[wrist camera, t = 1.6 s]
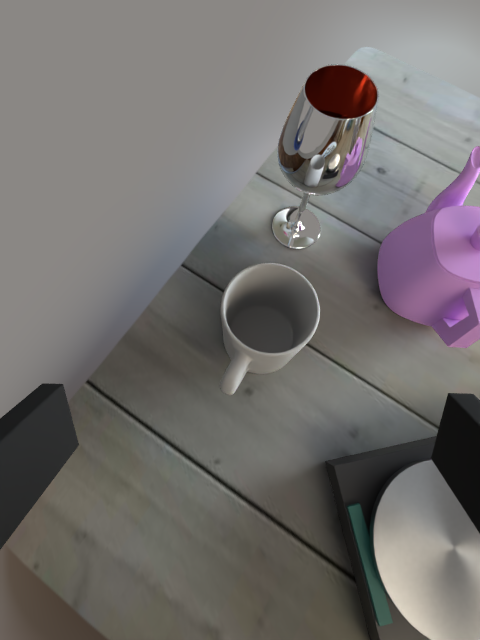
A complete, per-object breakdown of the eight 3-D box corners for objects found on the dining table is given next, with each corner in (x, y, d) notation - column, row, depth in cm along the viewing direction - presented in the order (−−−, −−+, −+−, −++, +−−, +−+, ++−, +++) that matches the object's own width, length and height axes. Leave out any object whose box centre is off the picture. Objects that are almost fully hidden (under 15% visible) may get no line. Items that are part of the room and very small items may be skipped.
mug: (246, 291, 38) (250, 244, 27) (308, 325, 37) (338, 289, 26) (193, 377, 35) (176, 361, 24) (260, 417, 34) (272, 418, 23)
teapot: (467, 216, 42) (547, 148, 31) (485, 362, 36) (591, 340, 25) (368, 205, 42) (414, 134, 31) (371, 349, 36) (428, 322, 25)
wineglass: (262, 252, 40) (284, 127, 22) (267, 198, 42) (290, 49, 25) (326, 258, 39) (397, 137, 22) (327, 204, 42) (392, 57, 25)
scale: (373, 650, 28) (392, 683, 25) (324, 461, 33) (335, 466, 29) (533, 605, 29) (573, 631, 26) (465, 429, 34) (491, 431, 30)
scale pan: (401, 665, 25) (406, 673, 24) (349, 476, 29) (352, 477, 28) (558, 620, 26) (568, 626, 25) (487, 444, 30) (494, 444, 29)
